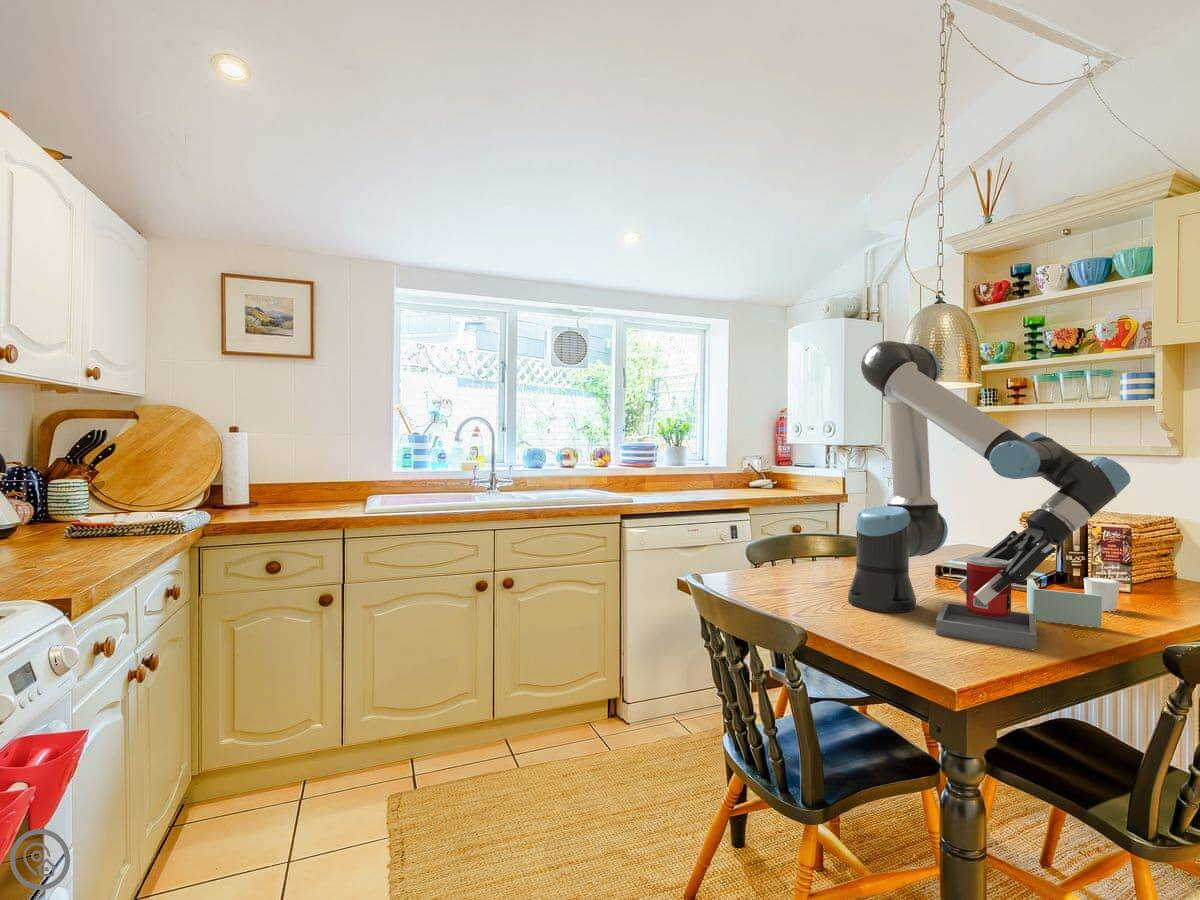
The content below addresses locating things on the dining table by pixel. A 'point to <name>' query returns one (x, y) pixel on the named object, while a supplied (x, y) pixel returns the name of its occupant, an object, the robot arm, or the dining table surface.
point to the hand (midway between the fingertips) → (970, 594)
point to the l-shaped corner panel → (1064, 606)
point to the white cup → (1103, 591)
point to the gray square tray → (987, 627)
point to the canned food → (977, 577)
